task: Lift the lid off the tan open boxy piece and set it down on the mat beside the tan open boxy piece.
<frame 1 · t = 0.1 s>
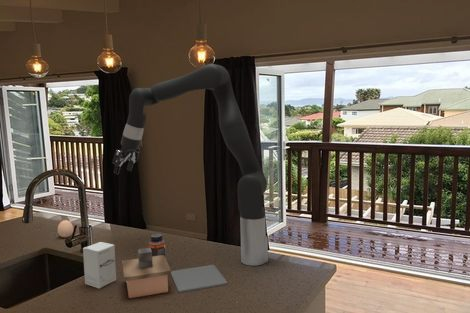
hand: (122, 172, 163), 31 cm above the worktop, tool tilted 20°, fingers open, 8 cm apart
supplement bottle: (158, 265, 146), on the worktop
lid: (145, 269, 127), point 6 cm above the worktop, touching tan open boxy piece
supplement box: (101, 282, 132), on the worktop
egg: (66, 237, 180), on the worktop
tan open boxy piece: (146, 286, 128), on the worktop
mat: (197, 278, 133), on the worktop
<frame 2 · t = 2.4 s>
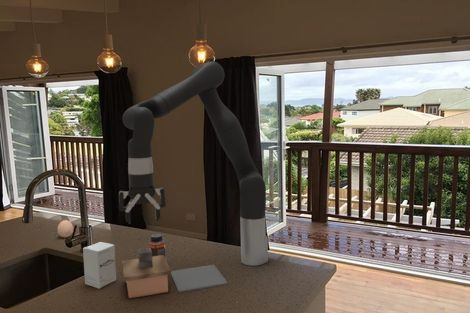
hand: (143, 221, 125), 22 cm above the worktop, tool pointing down, fingers open, 8 cm apart
nothing on the worktop moved.
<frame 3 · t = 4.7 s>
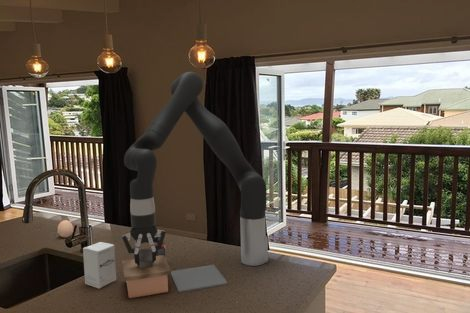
hand: (145, 263, 127), 8 cm above the worktop, tool pointing down, fingers closed on lid, 4 cm apart
lid: (145, 269, 127), point 6 cm above the worktop, touching tan open boxy piece, gripper
everything else where it was.
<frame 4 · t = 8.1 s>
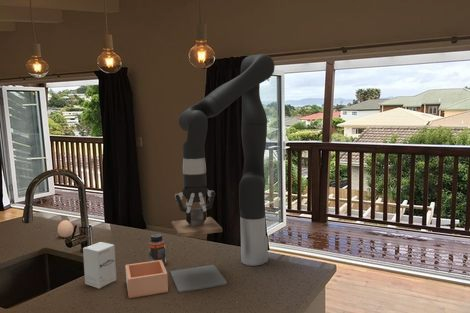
hand: (196, 222, 131), 20 cm above the worktop, tool pointing down, fingers closed on lid, 4 cm apart
lid: (196, 228, 131), point 18 cm above the worktop, touching gripper
everything else where it was.
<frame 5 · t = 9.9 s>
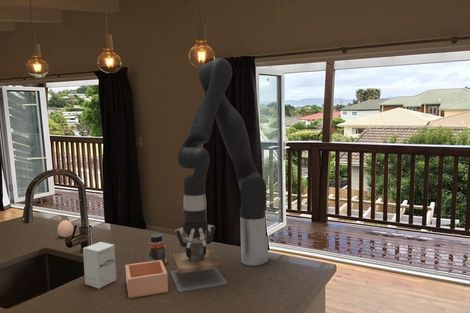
hand: (196, 256, 132), 8 cm above the worktop, tool pointing down, fingers closed on lid, 4 cm apart
lid: (196, 262, 133), point 6 cm above the worktop, touching gripper
everything else where it was.
when the fingers open (4 cm above the worktop, at t = 11.5 s): lid drops 2 cm, resting on mat.
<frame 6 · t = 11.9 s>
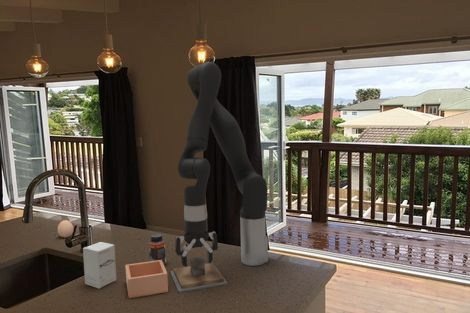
hand: (197, 264, 132), 5 cm above the worktop, tool pointing down, fingers open, 8 cm apart
lid: (197, 276, 133), point 1 cm above the worktop, touching mat
everything else where it was.
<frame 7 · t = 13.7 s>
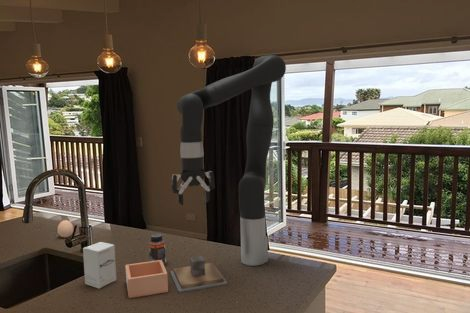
hand: (194, 203, 132), 25 cm above the worktop, tool pointing down, fingers open, 8 cm apart
nothing on the worktop moved.
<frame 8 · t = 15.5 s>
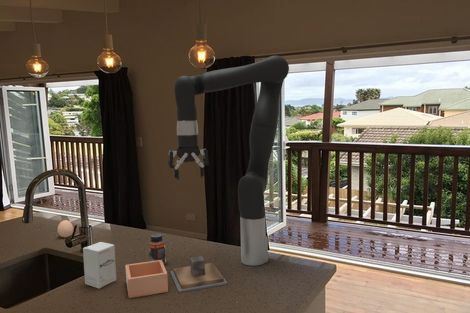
hand: (189, 178, 142), 32 cm above the worktop, tool pointing down, fingers open, 8 cm apart
nothing on the worktop moved.
at the end: lid inside the target area on the mat (0.1 cm from its centre), point 0.6 cm above the mat's base; lid tilted 0°; the gripper is holding nothing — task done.
